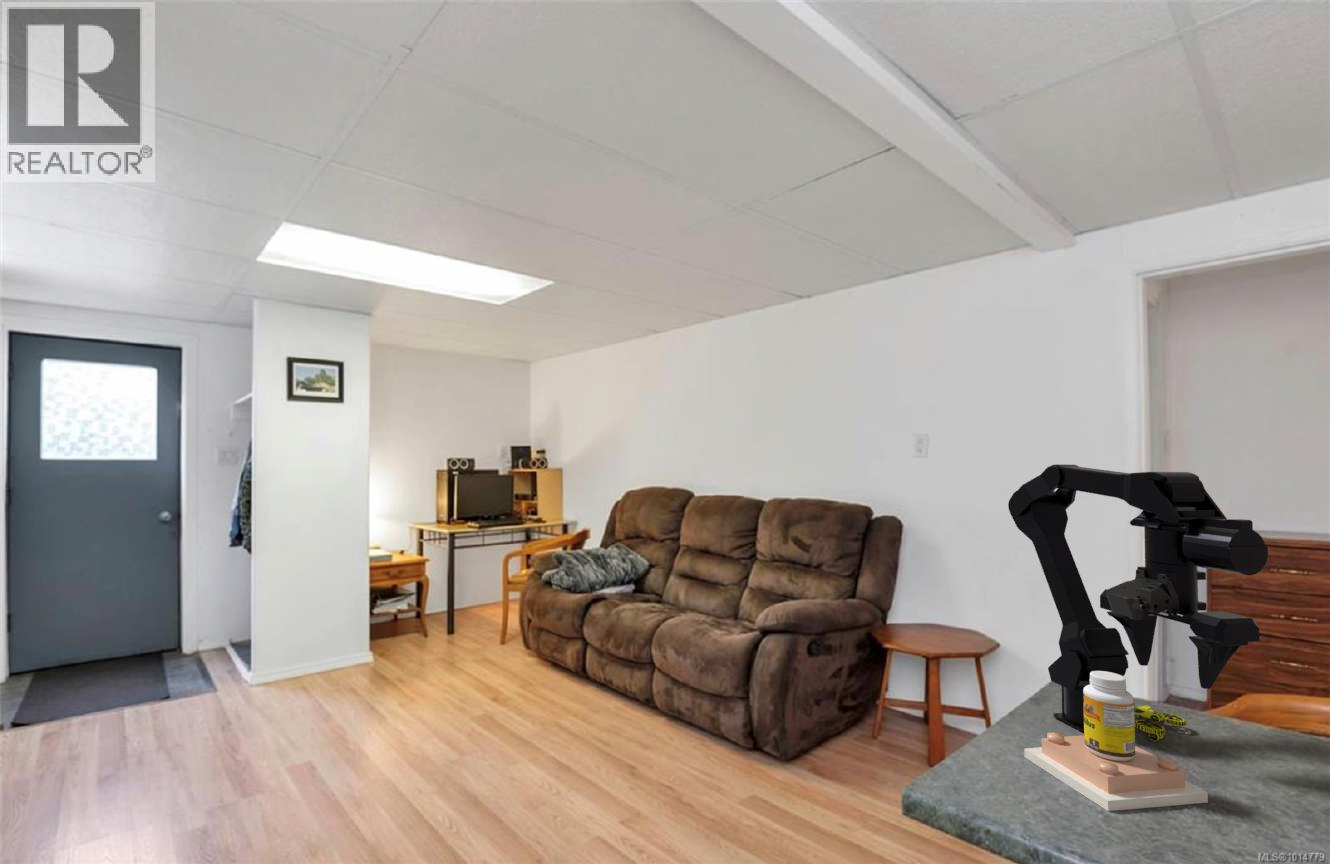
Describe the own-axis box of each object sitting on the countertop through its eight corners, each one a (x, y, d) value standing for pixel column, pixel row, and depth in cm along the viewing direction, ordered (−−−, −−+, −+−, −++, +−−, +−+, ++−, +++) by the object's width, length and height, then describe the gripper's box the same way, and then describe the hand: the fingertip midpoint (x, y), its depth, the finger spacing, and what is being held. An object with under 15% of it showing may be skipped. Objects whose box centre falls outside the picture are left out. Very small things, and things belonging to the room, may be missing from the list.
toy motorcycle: (1160, 721, 93) (1106, 702, 99) (1158, 747, 93) (1104, 727, 99) (1190, 709, 100) (1138, 692, 106) (1189, 734, 100) (1136, 716, 105)
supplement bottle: (1080, 740, 88) (1079, 666, 88) (1129, 748, 86) (1127, 671, 86) (1088, 757, 83) (1086, 678, 83) (1140, 766, 80) (1138, 684, 81)
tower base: (1024, 756, 90) (1024, 728, 90) (1111, 750, 92) (1110, 722, 92) (1108, 810, 76) (1107, 776, 76) (1207, 802, 78) (1206, 769, 78)
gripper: (1066, 552, 96) (1068, 656, 95) (1183, 575, 78) (1185, 704, 77) (1132, 551, 98) (1134, 654, 97) (1261, 574, 79) (1264, 701, 78)
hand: (1172, 676), depth 87 cm, fingers open, 9 cm apart
